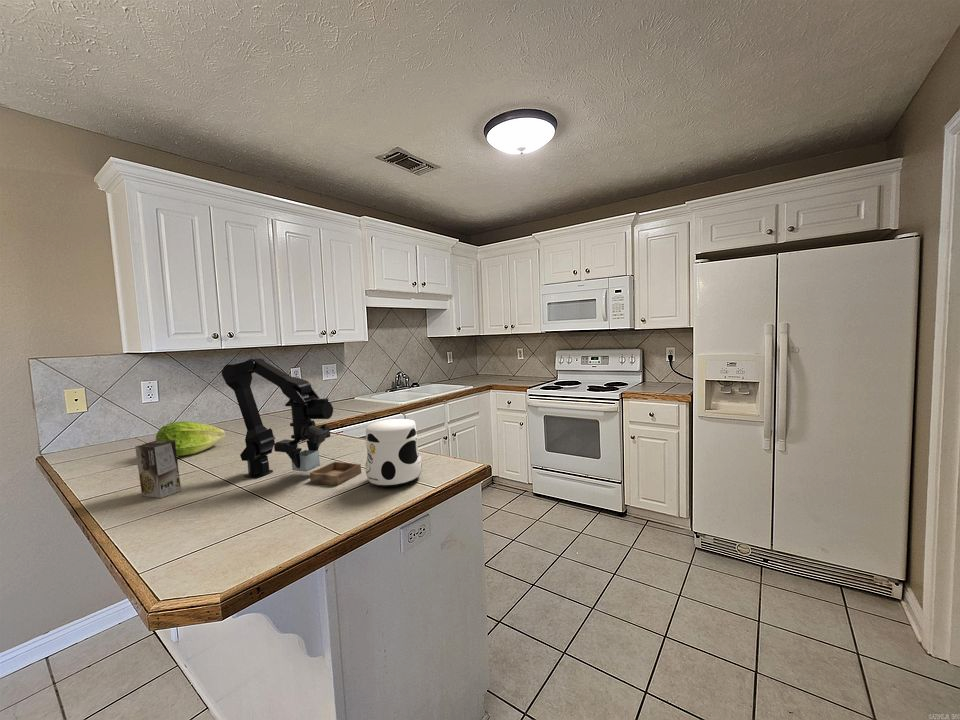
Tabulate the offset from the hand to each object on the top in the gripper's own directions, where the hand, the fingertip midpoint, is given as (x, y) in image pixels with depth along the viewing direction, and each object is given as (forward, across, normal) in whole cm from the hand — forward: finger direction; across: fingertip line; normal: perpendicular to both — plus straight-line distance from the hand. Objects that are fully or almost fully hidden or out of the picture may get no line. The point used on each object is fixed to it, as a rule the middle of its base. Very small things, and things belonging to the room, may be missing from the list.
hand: (306, 464), depth 133 cm
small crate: (+1, 0, 0) cm, 1 cm away
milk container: (+4, +5, -32) cm, 33 cm away
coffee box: (+4, -24, +36) cm, 44 cm away
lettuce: (+4, +9, +74) cm, 75 cm away
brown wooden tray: (+4, +2, -11) cm, 12 cm away
